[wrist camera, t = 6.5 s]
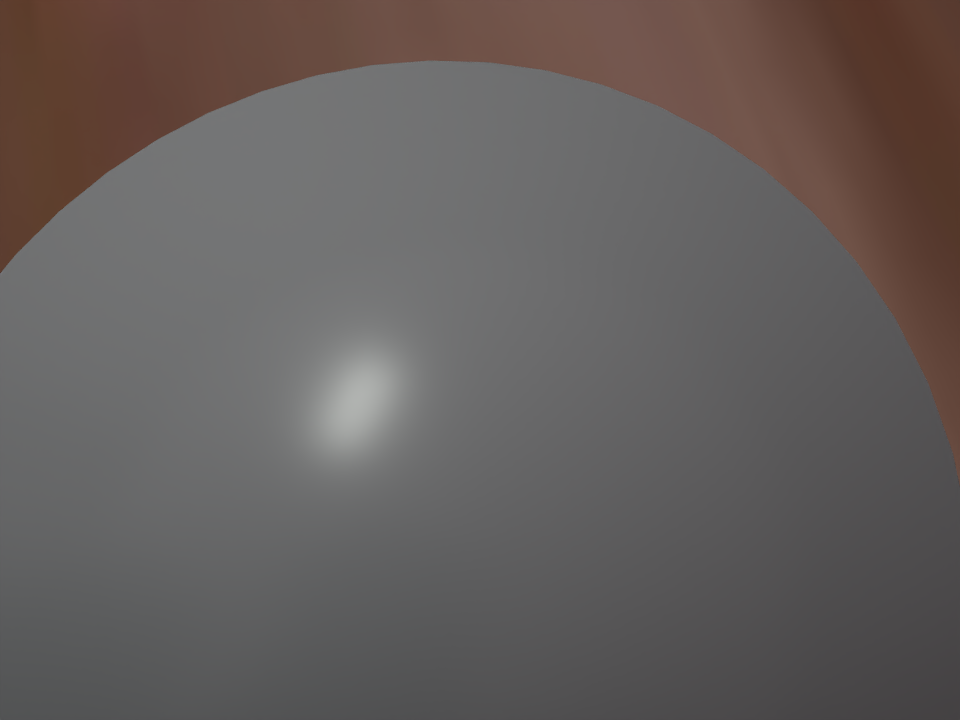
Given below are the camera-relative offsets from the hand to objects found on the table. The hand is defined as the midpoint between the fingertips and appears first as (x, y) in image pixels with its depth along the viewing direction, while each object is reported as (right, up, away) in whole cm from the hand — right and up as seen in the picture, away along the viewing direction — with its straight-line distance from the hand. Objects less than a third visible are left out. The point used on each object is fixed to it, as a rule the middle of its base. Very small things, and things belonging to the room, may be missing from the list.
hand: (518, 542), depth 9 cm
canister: (0, -3, +6) cm, 7 cm away
